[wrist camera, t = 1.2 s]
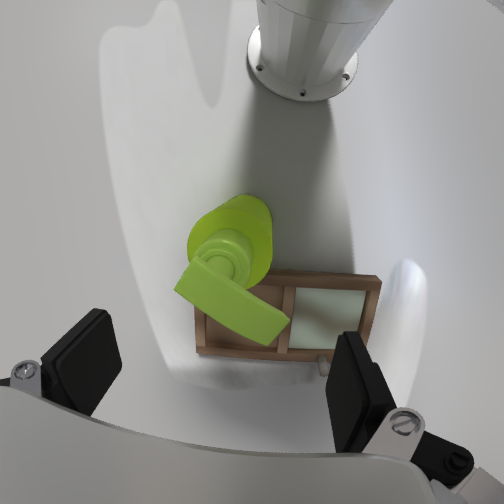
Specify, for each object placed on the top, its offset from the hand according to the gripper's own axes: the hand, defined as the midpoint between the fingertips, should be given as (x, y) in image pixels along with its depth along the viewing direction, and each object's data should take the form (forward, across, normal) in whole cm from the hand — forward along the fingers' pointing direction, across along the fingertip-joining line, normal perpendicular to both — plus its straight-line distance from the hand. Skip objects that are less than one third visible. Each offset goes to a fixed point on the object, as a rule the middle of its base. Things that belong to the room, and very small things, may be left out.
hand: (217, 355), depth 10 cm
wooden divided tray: (+22, -4, +10) cm, 25 cm away
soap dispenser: (+23, +1, -1) cm, 23 cm away
